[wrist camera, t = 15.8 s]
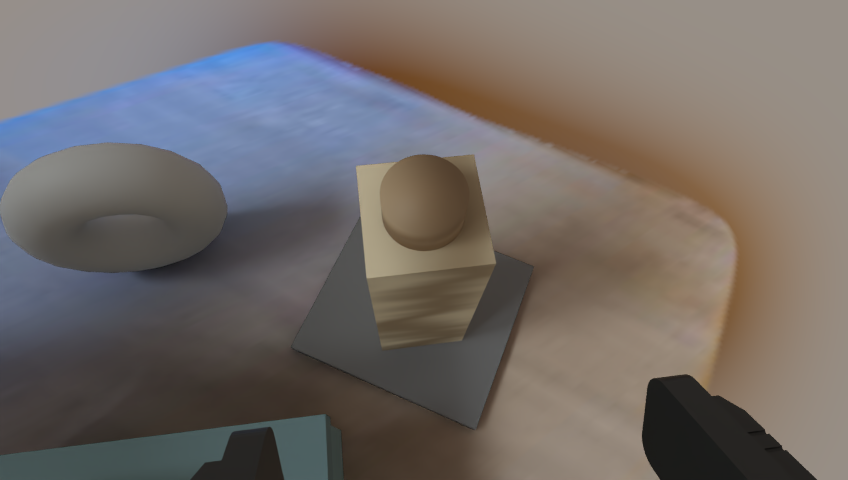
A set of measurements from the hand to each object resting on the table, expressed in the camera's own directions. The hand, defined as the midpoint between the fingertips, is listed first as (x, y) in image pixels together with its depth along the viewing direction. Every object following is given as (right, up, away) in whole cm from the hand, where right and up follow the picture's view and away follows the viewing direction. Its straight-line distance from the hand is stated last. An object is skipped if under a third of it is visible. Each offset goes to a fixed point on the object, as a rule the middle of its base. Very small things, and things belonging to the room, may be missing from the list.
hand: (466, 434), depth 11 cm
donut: (-17, +3, +20) cm, 26 cm away
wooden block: (-1, 0, +19) cm, 19 cm away
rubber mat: (-1, 0, +19) cm, 19 cm away
